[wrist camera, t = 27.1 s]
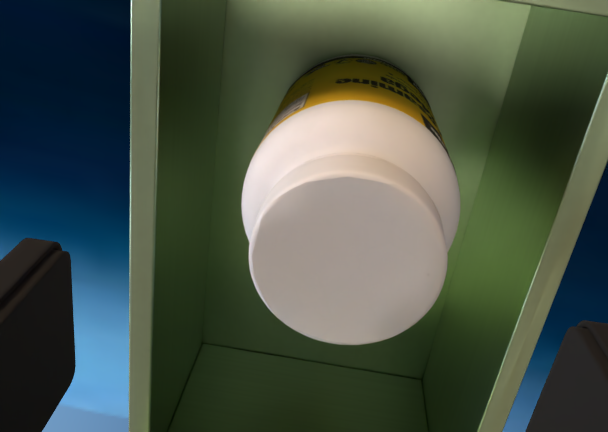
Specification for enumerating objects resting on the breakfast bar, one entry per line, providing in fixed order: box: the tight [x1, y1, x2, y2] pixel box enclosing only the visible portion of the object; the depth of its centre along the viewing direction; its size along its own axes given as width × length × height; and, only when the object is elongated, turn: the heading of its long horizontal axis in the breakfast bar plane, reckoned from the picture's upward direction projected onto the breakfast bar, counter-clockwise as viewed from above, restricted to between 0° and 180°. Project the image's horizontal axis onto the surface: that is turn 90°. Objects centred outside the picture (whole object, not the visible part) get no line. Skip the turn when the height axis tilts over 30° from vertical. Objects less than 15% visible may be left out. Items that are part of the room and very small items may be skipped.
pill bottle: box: [241, 54, 460, 345], centre depth 18 cm, size 6×6×11 cm
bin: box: [129, 0, 608, 432], centre depth 22 cm, size 20×13×9 cm, turn 172°
